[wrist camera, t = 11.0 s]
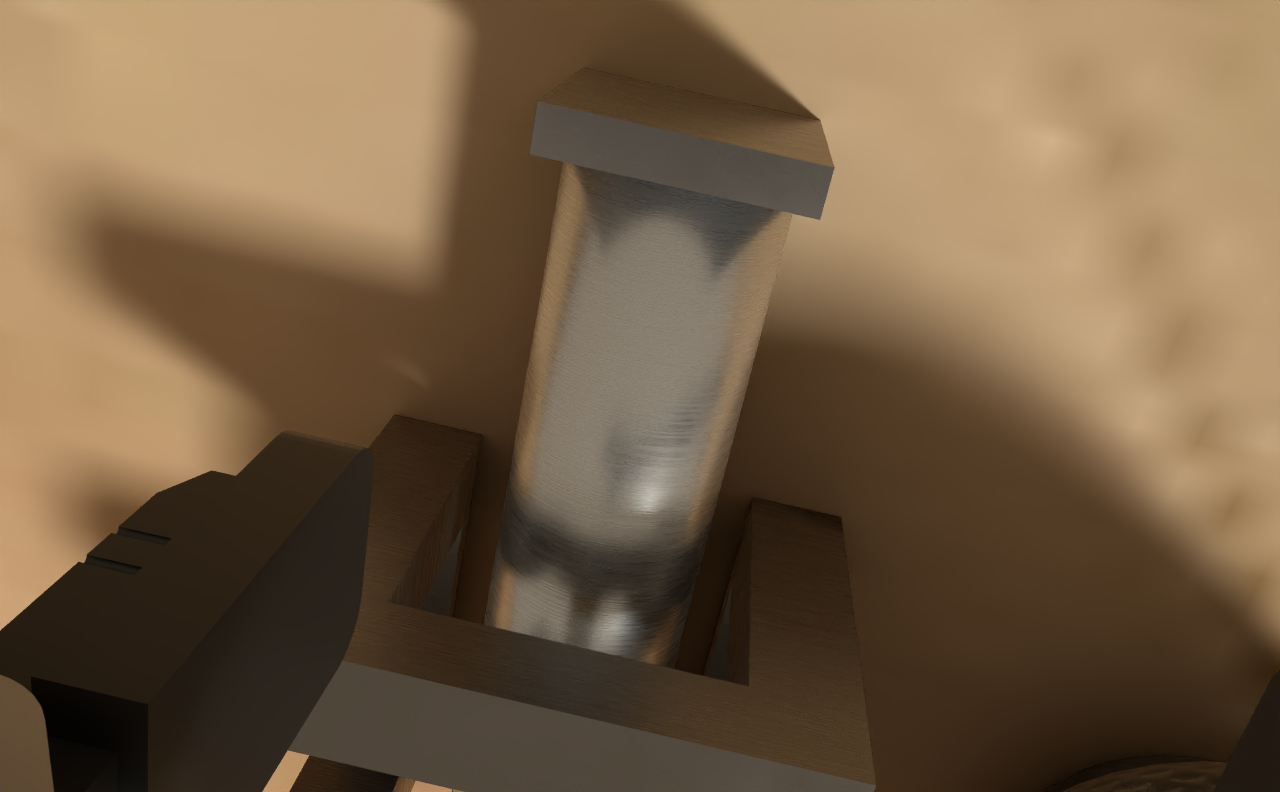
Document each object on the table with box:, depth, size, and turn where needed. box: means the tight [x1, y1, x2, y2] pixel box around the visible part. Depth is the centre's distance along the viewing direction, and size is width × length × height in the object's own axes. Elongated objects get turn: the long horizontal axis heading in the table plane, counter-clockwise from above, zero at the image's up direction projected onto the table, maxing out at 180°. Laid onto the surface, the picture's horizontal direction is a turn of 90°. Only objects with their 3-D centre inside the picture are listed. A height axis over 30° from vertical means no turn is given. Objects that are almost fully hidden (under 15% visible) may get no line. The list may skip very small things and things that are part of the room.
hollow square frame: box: [288, 415, 876, 792], centre depth 27 cm, size 12×10×10 cm
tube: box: [452, 68, 834, 792], centre depth 27 cm, size 6×22×6 cm, turn 168°
